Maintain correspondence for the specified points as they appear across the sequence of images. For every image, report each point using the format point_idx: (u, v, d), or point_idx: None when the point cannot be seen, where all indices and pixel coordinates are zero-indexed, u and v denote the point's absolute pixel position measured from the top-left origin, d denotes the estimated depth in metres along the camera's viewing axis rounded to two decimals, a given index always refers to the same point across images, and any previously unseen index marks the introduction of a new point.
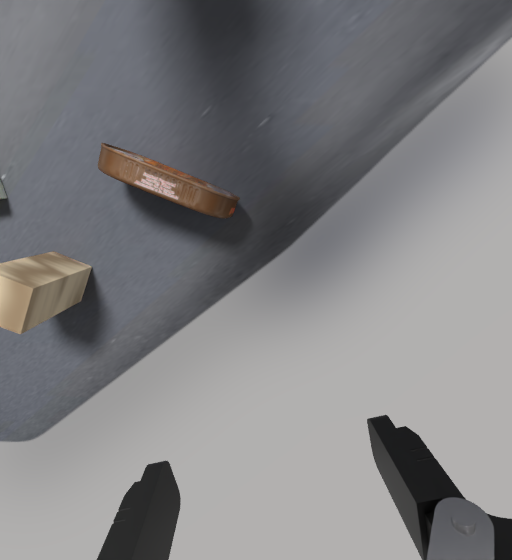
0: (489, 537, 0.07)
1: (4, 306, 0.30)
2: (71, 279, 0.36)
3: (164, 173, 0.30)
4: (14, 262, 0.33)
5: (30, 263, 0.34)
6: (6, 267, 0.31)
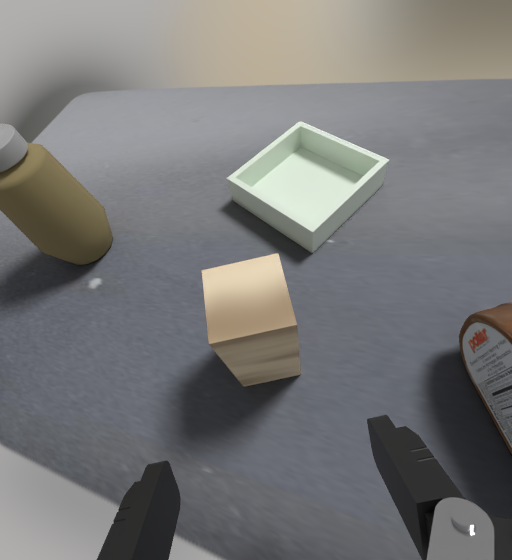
0: (489, 537, 0.07)
1: (241, 303, 0.18)
2: (289, 361, 0.23)
3: None
4: None
5: None
6: None
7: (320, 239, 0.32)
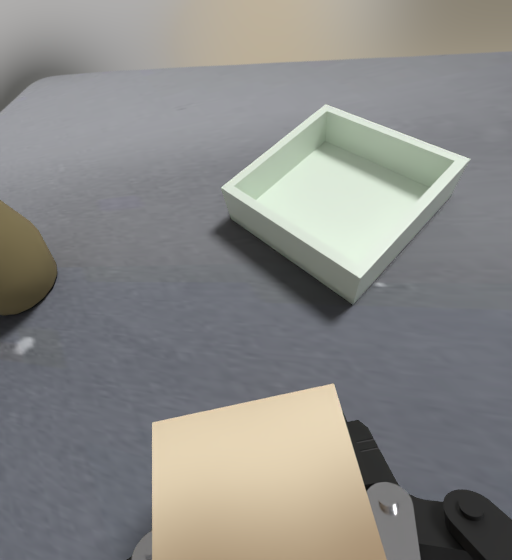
0: (407, 516, 0.08)
1: (247, 545, 0.07)
2: None
3: None
4: None
5: None
6: None
7: (366, 284, 0.20)
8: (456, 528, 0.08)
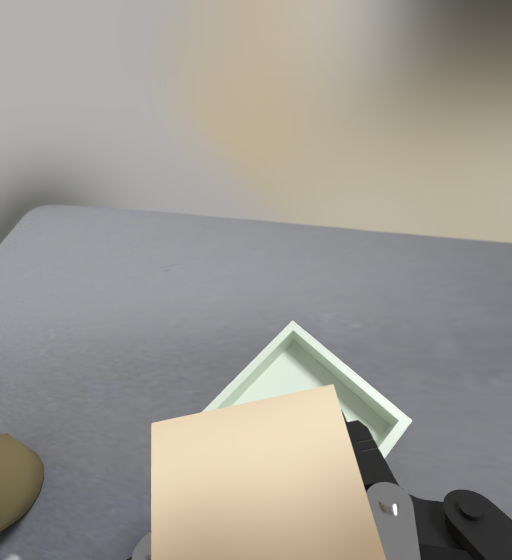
0: (407, 515, 0.08)
1: (246, 546, 0.07)
2: None
3: None
4: None
5: None
6: None
7: None
8: (456, 528, 0.08)
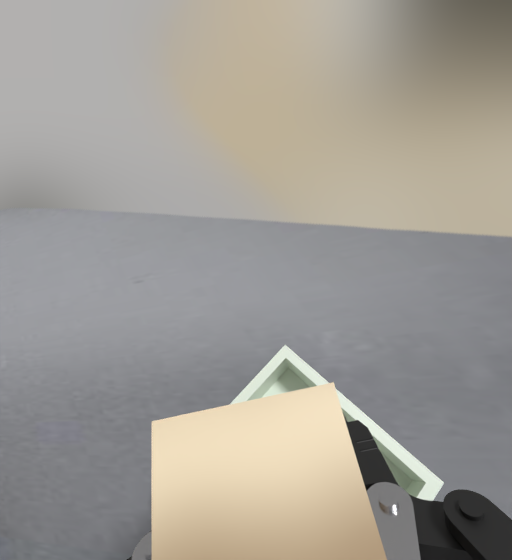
0: (407, 516, 0.08)
1: (246, 544, 0.07)
2: None
3: None
4: None
5: None
6: None
7: None
8: (456, 528, 0.08)
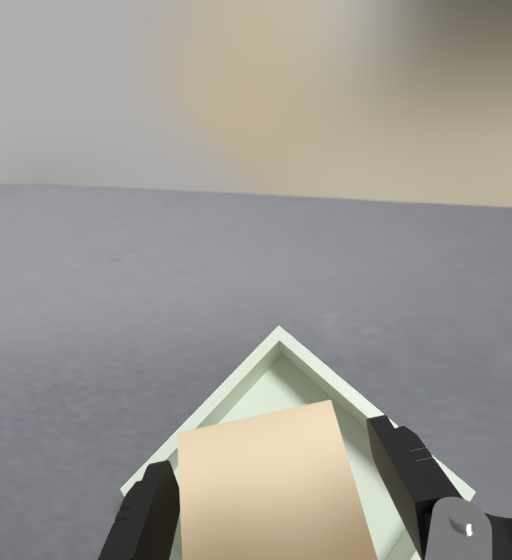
0: (487, 536, 0.07)
1: (259, 535, 0.08)
2: None
3: None
4: None
5: None
6: None
7: None
8: None
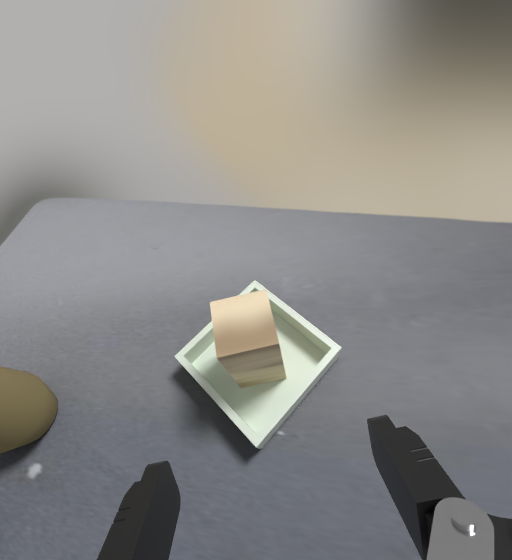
0: (489, 537, 0.07)
1: (239, 327, 0.25)
2: (276, 368, 0.30)
3: None
4: None
5: None
6: None
7: (268, 438, 0.30)
8: None
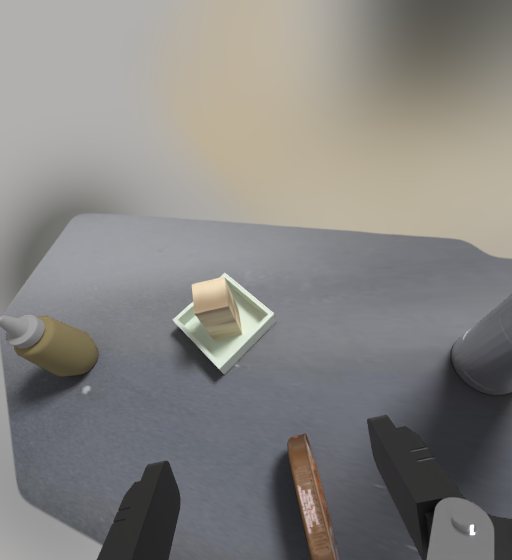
0: (489, 537, 0.07)
1: (207, 298, 0.46)
2: (233, 325, 0.50)
3: (320, 508, 0.34)
4: (229, 291, 0.50)
5: (232, 298, 0.51)
6: (227, 288, 0.48)
7: (228, 367, 0.51)
8: None
